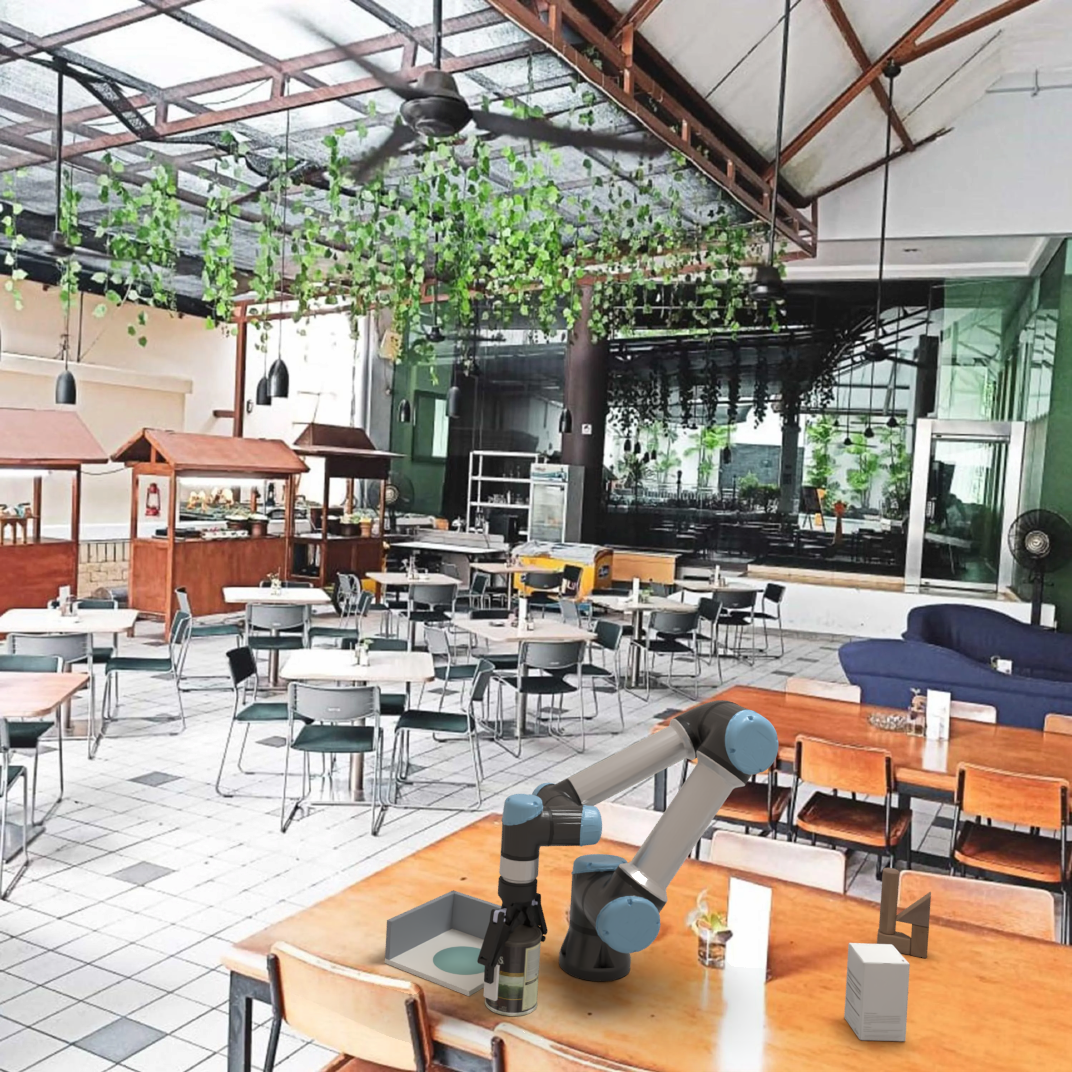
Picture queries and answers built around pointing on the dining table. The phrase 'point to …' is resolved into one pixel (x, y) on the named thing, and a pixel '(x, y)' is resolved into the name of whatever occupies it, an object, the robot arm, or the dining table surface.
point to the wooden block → (903, 918)
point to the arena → (441, 941)
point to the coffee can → (518, 973)
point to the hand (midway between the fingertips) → (511, 985)
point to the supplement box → (877, 992)
